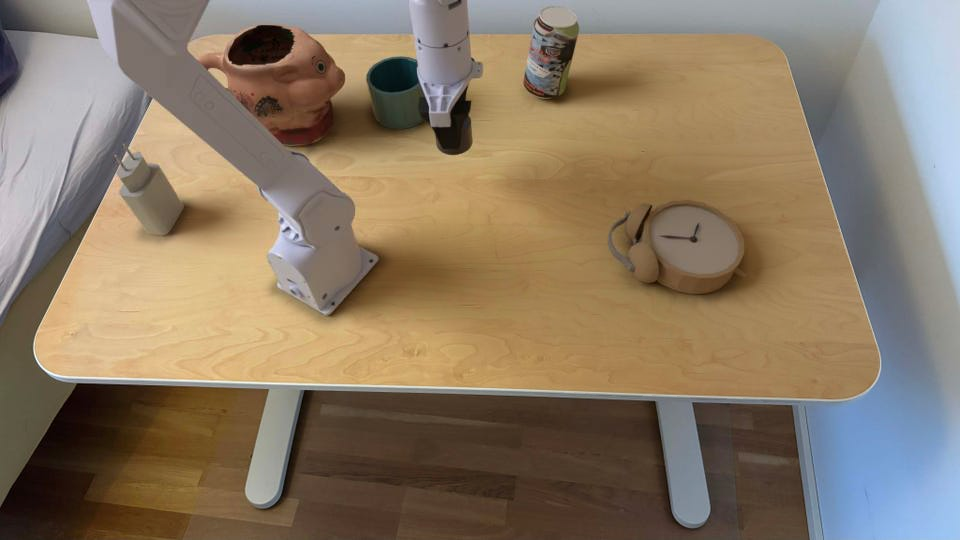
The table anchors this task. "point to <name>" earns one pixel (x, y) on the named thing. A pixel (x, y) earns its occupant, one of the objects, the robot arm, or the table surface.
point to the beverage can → (551, 52)
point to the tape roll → (465, 140)
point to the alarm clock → (681, 246)
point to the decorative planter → (281, 80)
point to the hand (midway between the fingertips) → (452, 132)
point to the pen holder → (395, 92)
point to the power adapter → (148, 194)
